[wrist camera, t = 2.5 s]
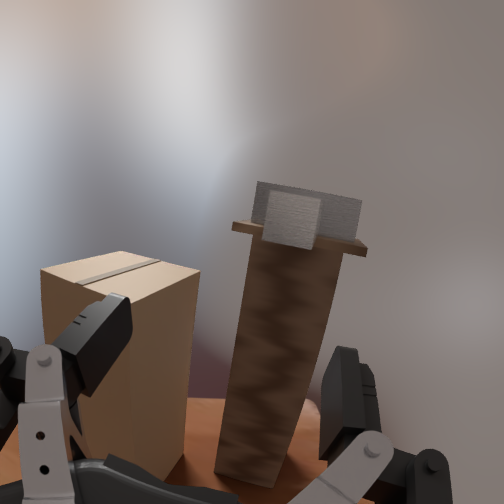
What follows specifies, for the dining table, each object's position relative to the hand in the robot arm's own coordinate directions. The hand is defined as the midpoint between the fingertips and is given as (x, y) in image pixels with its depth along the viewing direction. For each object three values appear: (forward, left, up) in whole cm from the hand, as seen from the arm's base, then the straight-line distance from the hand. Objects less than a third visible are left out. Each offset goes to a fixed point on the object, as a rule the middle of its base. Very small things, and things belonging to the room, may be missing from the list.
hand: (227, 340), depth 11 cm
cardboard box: (-13, +12, -29) cm, 34 cm away
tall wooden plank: (+1, +21, -29) cm, 36 cm away
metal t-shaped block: (+1, +16, +3) cm, 16 cm away
